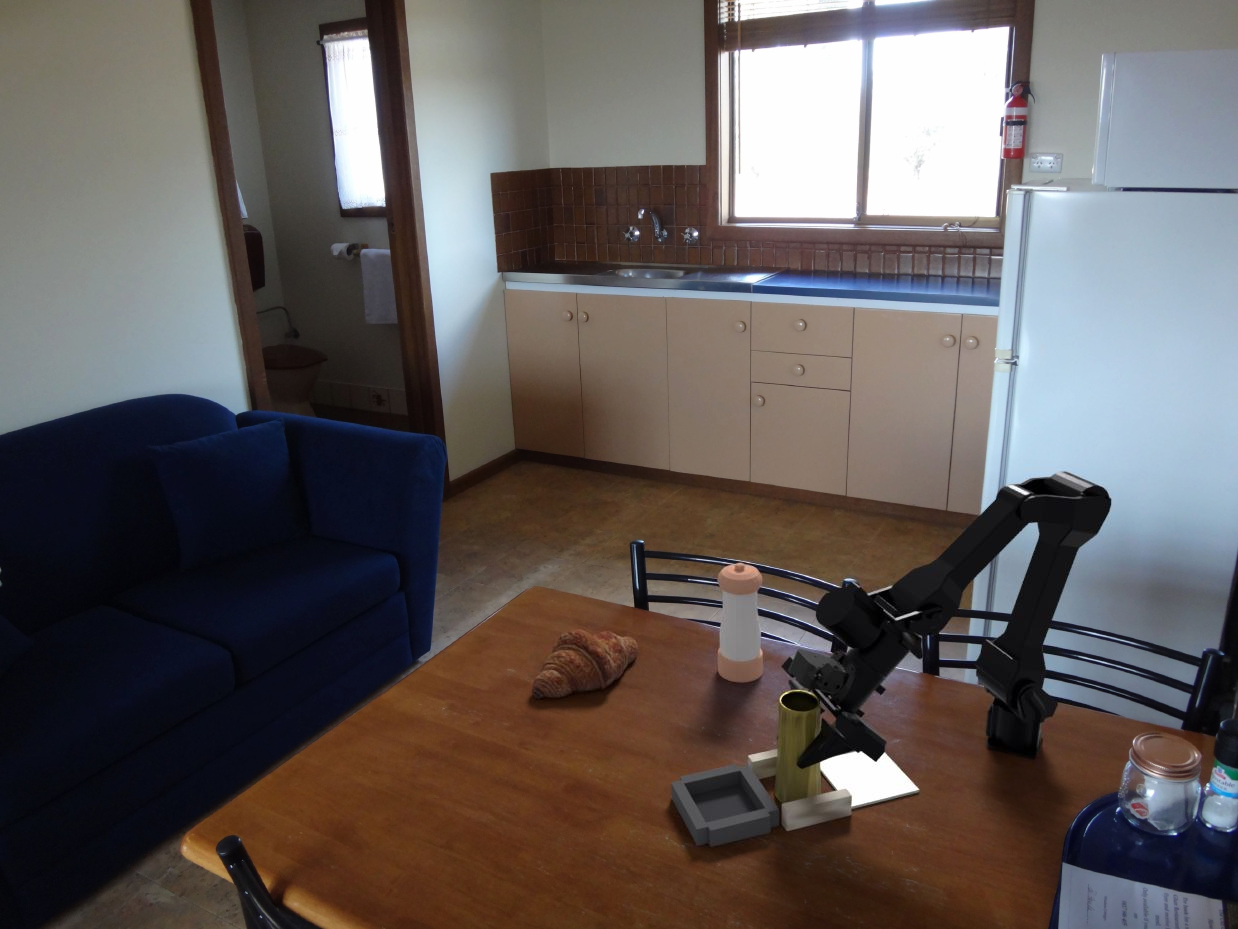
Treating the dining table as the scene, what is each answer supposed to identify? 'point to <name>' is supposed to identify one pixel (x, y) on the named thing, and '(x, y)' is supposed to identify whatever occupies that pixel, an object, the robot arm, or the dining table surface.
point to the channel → (807, 808)
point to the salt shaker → (740, 624)
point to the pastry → (583, 663)
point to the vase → (797, 746)
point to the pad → (867, 778)
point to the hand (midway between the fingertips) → (788, 753)
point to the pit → (724, 805)
